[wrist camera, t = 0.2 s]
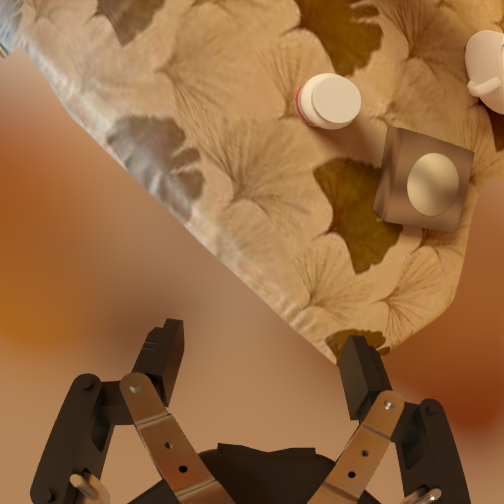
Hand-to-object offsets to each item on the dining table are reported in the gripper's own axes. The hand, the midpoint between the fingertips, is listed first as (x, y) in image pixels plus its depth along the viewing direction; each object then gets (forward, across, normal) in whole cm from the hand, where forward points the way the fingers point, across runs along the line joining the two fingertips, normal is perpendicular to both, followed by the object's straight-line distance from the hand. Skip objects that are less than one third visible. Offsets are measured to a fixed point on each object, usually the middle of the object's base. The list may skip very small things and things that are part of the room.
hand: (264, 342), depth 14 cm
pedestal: (+28, -21, -5) cm, 36 cm away
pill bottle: (+29, -5, -12) cm, 32 cm away
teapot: (+29, -33, -26) cm, 51 cm away
